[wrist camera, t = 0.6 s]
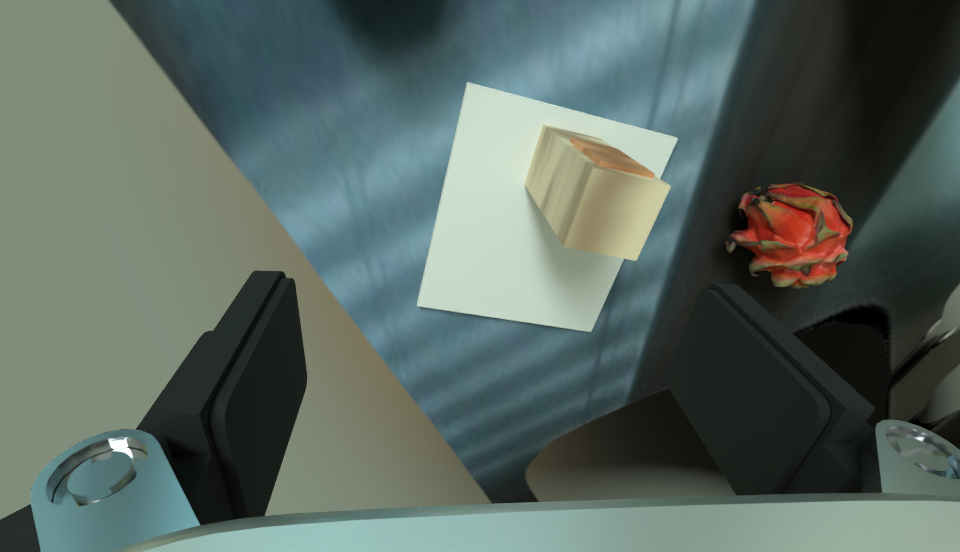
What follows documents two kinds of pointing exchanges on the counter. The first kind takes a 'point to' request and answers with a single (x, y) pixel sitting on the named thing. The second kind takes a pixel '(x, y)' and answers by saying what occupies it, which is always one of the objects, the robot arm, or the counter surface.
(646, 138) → the mat
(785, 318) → the counter surface
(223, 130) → the counter surface
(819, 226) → the dragon fruit
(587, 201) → the wood block
